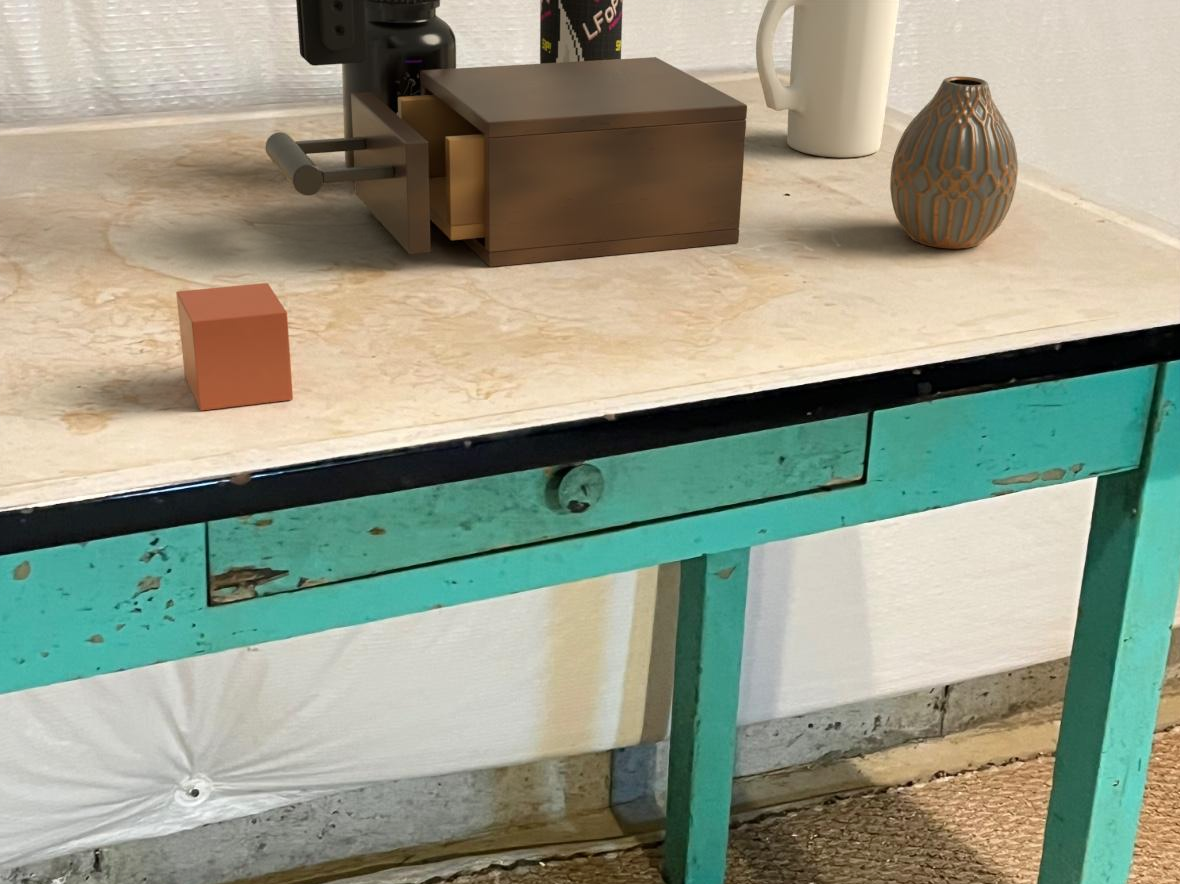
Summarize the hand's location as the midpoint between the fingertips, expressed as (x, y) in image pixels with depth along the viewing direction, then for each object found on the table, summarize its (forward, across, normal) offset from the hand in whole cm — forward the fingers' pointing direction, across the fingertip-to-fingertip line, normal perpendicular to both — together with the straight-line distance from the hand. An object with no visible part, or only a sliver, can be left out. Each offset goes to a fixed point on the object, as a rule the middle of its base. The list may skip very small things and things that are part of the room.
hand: (334, 60), depth 88 cm
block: (+10, +19, -10) cm, 23 cm away
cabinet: (+10, 0, +14) cm, 17 cm away
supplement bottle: (+10, -12, +6) cm, 17 cm away
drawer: (+9, 0, +6) cm, 11 cm away
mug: (+10, -11, +34) cm, 38 cm away
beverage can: (+10, -26, +24) cm, 36 cm away
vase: (+10, +9, +32) cm, 35 cm away
